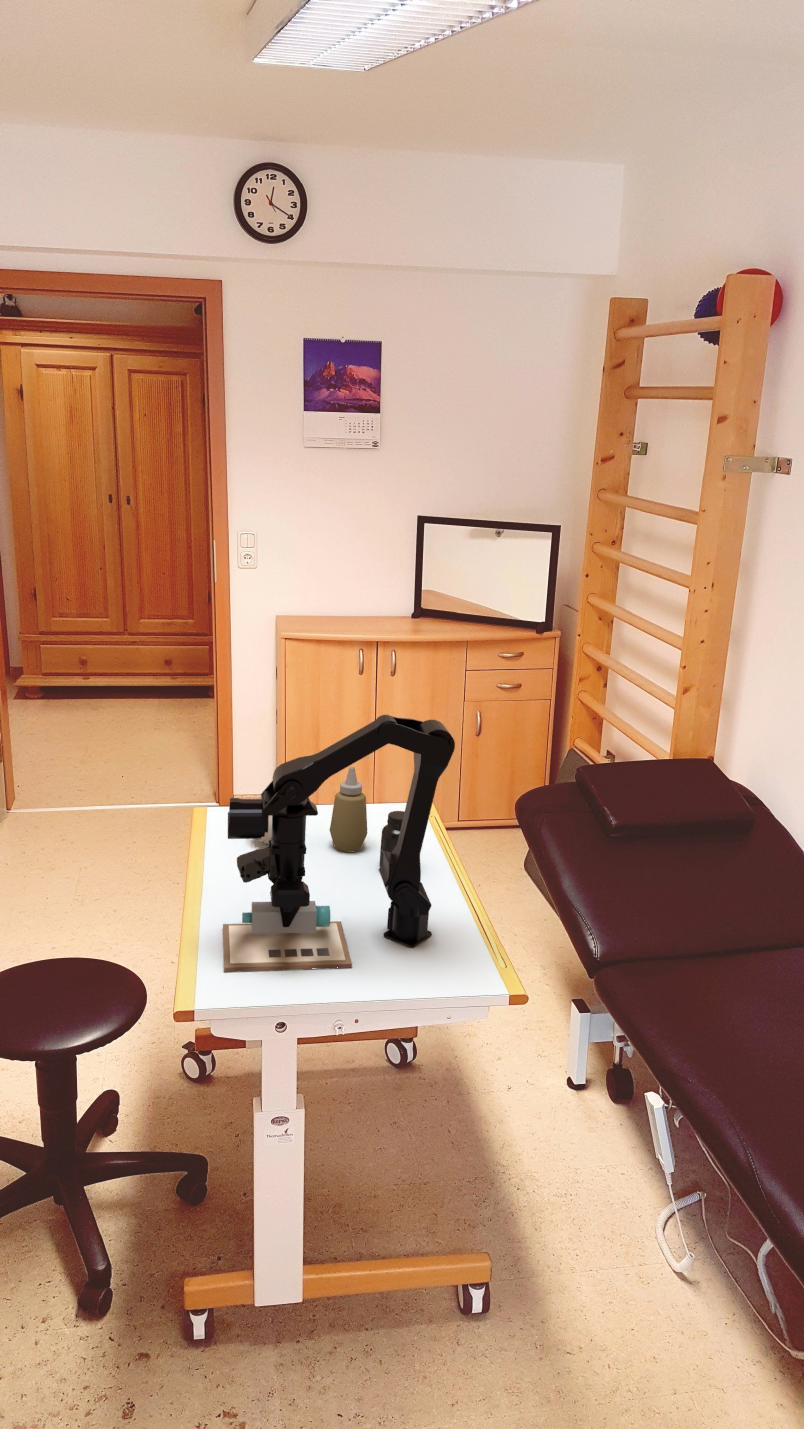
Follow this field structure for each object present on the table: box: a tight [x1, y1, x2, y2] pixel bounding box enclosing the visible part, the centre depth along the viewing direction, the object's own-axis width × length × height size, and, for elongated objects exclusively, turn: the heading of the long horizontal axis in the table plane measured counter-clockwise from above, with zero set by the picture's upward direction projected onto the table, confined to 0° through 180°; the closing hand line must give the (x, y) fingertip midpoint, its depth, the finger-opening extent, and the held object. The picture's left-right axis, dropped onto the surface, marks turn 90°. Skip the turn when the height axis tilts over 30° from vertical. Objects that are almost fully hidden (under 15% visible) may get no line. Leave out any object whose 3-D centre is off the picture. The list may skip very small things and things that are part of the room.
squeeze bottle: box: [329, 766, 368, 853], centre depth 215 cm, size 8×8×18 cm
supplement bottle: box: [378, 810, 405, 868], centre depth 207 cm, size 7×7×12 cm
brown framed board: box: [222, 920, 353, 973], centre depth 174 cm, size 21×15×1 cm
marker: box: [241, 900, 331, 934], centre depth 176 cm, size 15×4×4 cm, turn 100°
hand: (285, 920), depth 176 cm, fingers closed on marker, 4 cm apart
